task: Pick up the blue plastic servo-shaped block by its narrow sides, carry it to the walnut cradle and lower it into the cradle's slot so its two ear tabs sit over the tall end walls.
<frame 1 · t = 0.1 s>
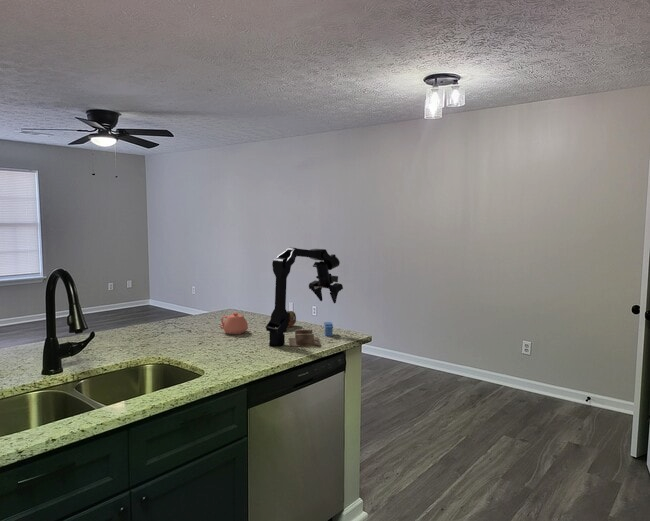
hand: (328, 302, 235), 15 cm above the worktop, tool pointing down, fingers open, 9 cm apart
cradle: (304, 342, 216), on the worktop
tin: (285, 327, 245), on the worktop
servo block: (328, 335, 230), on the worktop
sugar bowl: (234, 333, 233), on the worktop
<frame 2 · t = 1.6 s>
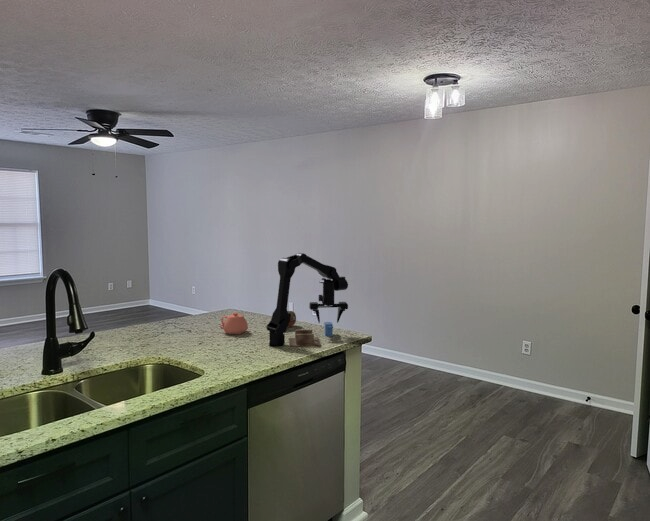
hand: (328, 322, 229), 6 cm above the worktop, tool pointing down, fingers open, 9 cm apart
nothing on the worktop moved.
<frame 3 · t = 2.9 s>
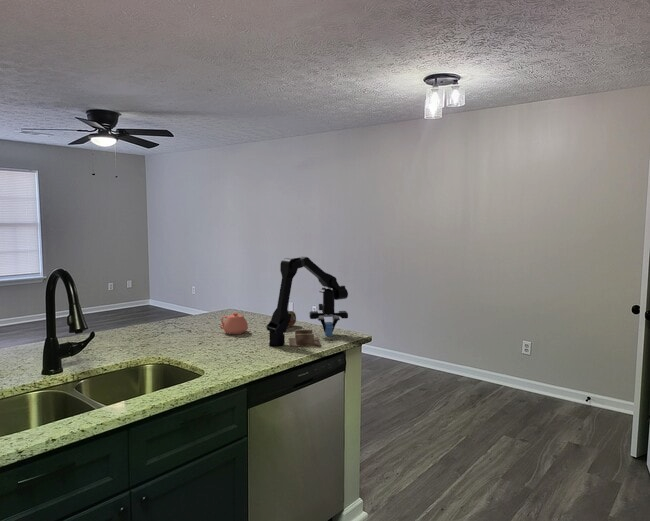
hand: (328, 331, 230), 2 cm above the worktop, tool pointing down, fingers closed on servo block, 3 cm apart
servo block: (328, 335, 230), on the worktop, touching gripper
everything else where it was.
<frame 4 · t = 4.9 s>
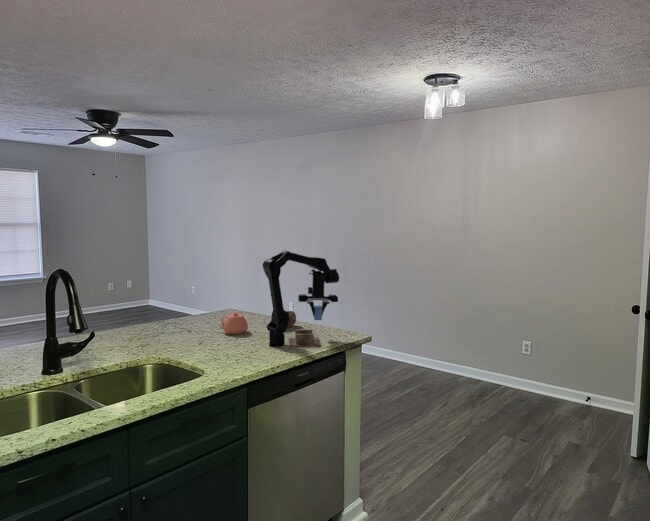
hand: (317, 315, 222), 11 cm above the worktop, tool pointing down, fingers closed on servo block, 3 cm apart
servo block: (317, 319, 223), point 9 cm above the worktop, touching gripper
everything else where it was.
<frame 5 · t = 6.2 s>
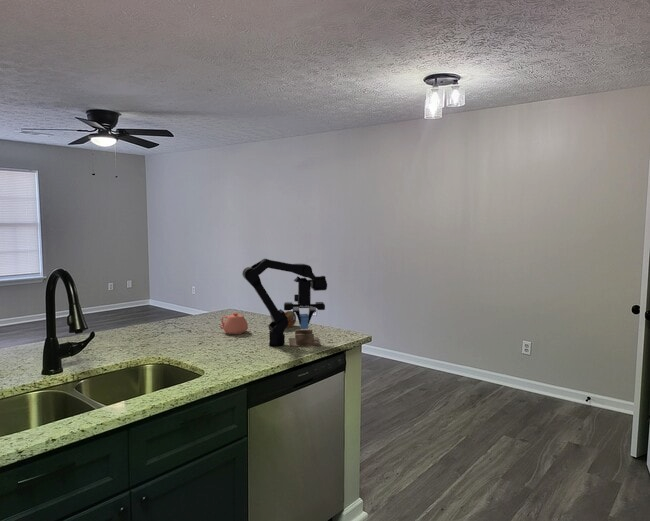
hand: (304, 324, 215), 9 cm above the worktop, tool pointing down, fingers closed on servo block, 3 cm apart
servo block: (304, 327, 215), point 7 cm above the worktop, touching gripper
everything else where it was.
when the fingers open (3 cm above the worktop, at t = 7.4 s): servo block stays where it is, resting on cradle.
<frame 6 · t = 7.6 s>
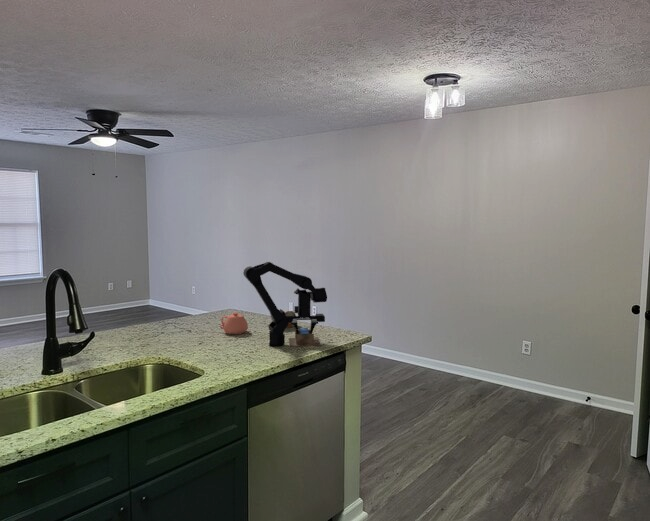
hand: (304, 336, 215), 3 cm above the worktop, tool pointing down, fingers open, 5 cm apart
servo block: (304, 341, 216), point 1 cm above the worktop, touching cradle
everything else where it was.
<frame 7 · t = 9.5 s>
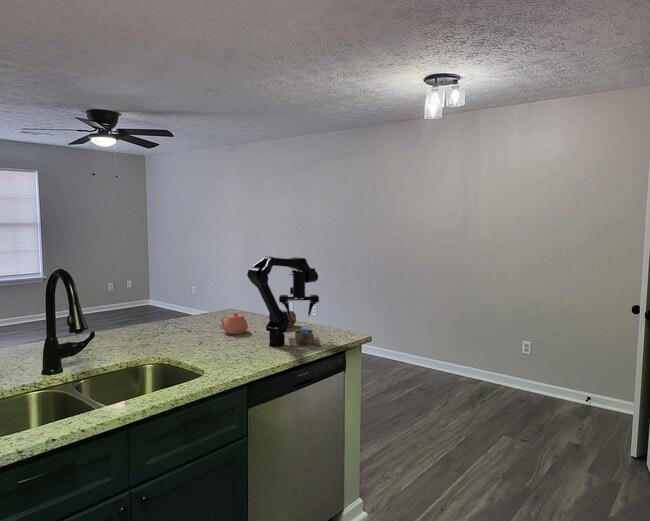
hand: (299, 316, 221), 11 cm above the worktop, tool pointing down, fingers open, 9 cm apart
nothing on the worktop moved.
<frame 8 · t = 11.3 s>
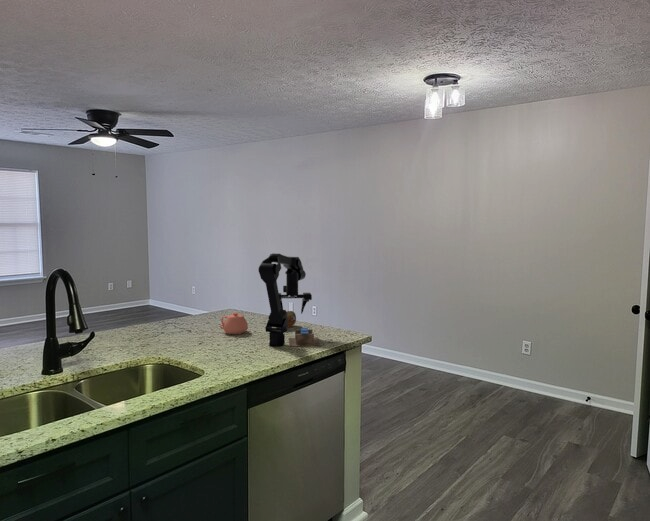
hand: (292, 313, 227), 11 cm above the worktop, tool pointing down, fingers open, 9 cm apart
nothing on the worktop moved.
at the end: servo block 0.1 cm off-centre on the cradle, point 0.5 cm above the cradle's base; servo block tilted 0°; the gripper is holding nothing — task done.
